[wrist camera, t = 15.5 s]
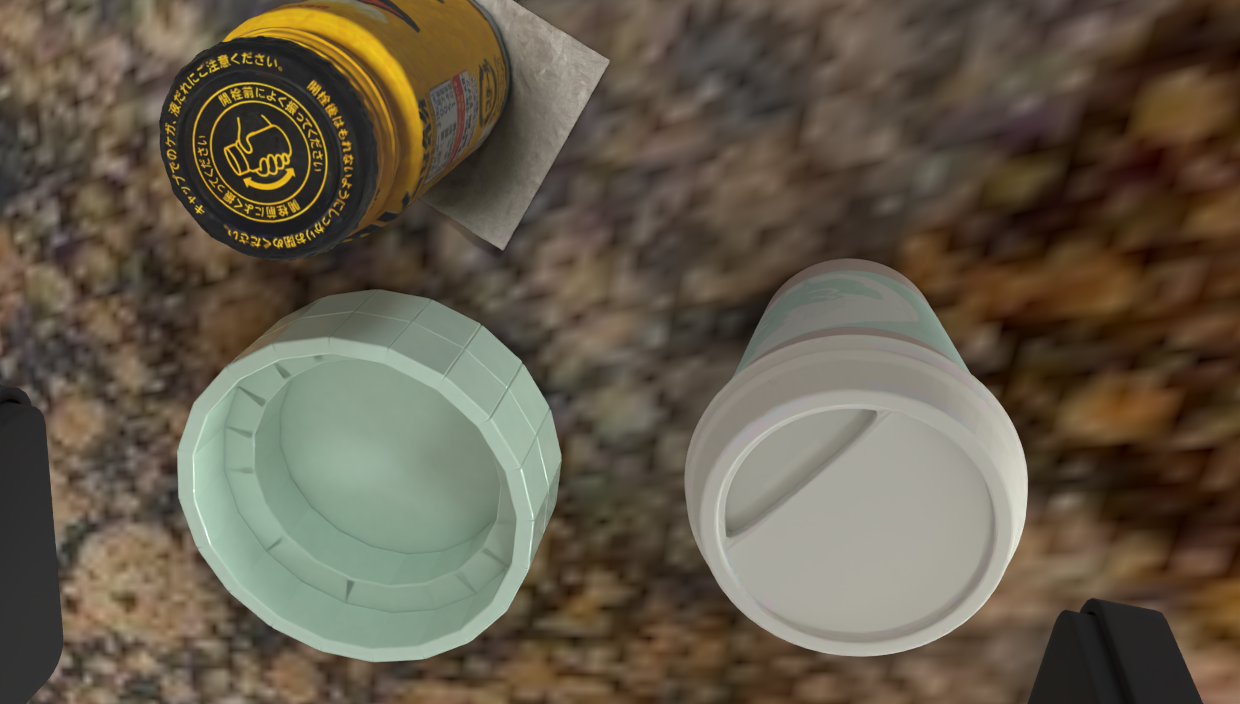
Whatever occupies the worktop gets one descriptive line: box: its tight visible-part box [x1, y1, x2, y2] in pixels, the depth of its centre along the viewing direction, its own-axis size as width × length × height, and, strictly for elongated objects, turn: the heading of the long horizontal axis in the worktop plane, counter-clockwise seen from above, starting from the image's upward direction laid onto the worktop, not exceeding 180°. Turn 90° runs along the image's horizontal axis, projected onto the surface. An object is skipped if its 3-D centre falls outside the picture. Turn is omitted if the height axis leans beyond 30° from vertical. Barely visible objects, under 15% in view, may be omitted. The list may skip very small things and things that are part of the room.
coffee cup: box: [685, 259, 1028, 656], centre depth 34 cm, size 8×8×12 cm
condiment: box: [159, 0, 610, 260], centre depth 33 cm, size 7×8×12 cm
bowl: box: [177, 289, 561, 662], centre depth 41 cm, size 12×12×5 cm
